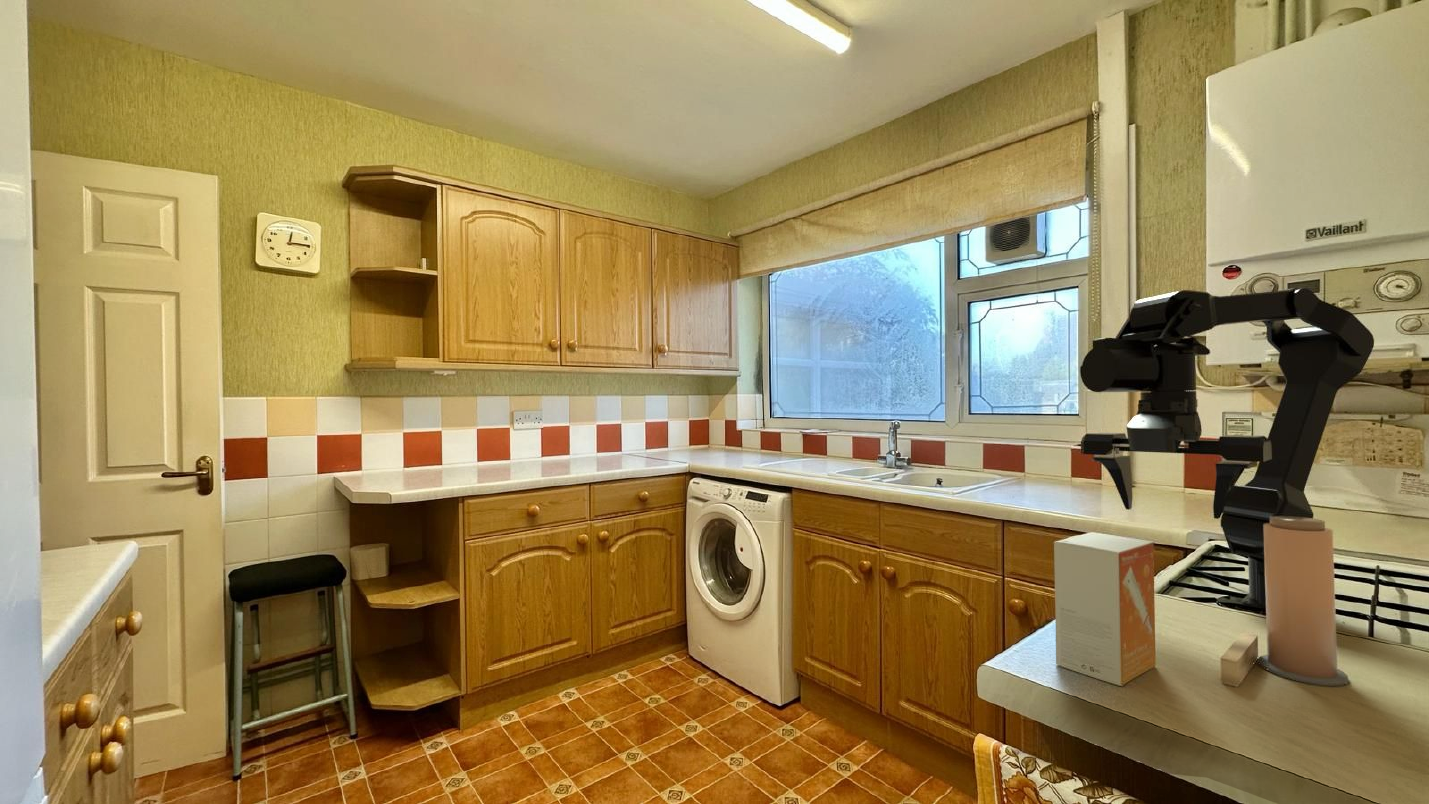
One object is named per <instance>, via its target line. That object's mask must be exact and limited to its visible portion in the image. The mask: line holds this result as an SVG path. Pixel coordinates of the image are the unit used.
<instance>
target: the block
mask: <svg viewBox="0 0 1429 804" xmlns="http://www.w3.org/2000/svg"><path fill="white" fill-rule="evenodd" d="M1257 657H1258V658H1259V636H1258V635H1257V634H1252V633H1249V632H1244V631H1243V632H1242V633H1240V635H1239V636H1238V637H1237V638H1236V639H1235V640H1234V642H1233V643H1232V644H1231V645H1230V646H1229V647H1228V649H1227V650H1226V651H1225V652H1224V653H1223V654H1222V655H1221V657H1220V680H1221V681H1220V683H1221V684H1225V685H1228V686H1233V687H1236V688H1239V686H1240V685H1241V683H1242V681H1243V680H1244V679H1245V677H1247V675H1248V674H1249V672H1250V671H1251V669H1252V668H1251V666H1252V665H1253V663H1254V662H1255V661H1256V659H1257ZM1257 660H1258V659H1257ZM1256 662H1257V661H1256ZM1256 662H1255V663H1256ZM1255 663H1254V664H1255ZM1253 666H1254V665H1253ZM1253 666H1252V667H1253ZM1250 668H1251V669H1250ZM1248 671H1249V672H1248Z"/></svg>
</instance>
